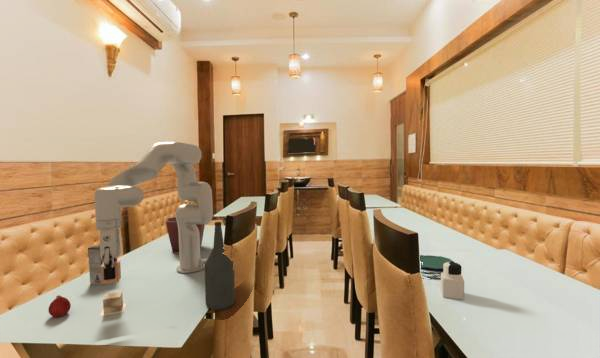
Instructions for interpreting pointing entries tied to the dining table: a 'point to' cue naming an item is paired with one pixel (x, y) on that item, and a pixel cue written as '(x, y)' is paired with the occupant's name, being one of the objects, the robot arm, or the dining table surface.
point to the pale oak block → (112, 302)
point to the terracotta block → (117, 273)
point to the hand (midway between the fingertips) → (111, 275)
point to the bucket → (174, 233)
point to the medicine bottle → (452, 281)
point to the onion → (59, 306)
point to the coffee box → (95, 265)
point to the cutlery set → (433, 263)
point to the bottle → (219, 275)
